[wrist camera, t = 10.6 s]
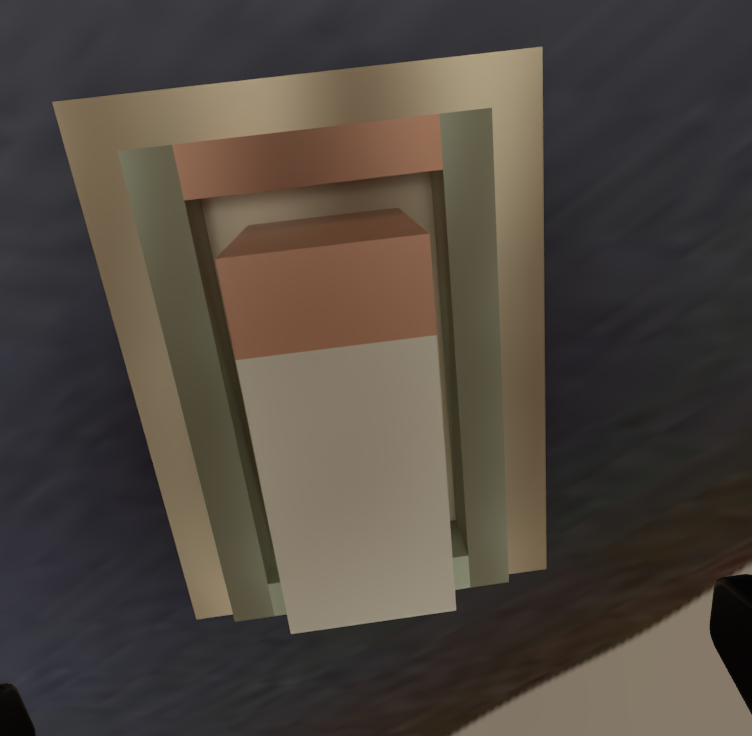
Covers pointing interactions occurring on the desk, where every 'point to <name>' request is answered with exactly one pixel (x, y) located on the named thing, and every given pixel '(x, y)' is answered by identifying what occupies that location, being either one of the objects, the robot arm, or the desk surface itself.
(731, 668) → the robot arm
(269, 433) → the banded block
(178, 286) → the slot holder
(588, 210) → the desk surface
